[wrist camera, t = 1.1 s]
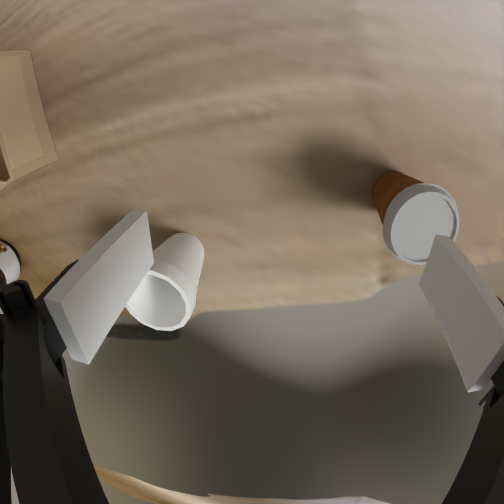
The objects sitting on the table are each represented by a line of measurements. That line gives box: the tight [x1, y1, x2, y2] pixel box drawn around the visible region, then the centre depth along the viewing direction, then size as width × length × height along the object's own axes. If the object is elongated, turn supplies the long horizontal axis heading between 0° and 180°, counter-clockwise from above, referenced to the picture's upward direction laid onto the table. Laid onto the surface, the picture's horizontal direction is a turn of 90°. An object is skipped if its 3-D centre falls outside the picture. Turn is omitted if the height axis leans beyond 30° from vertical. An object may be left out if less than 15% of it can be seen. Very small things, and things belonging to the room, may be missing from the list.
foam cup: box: [125, 233, 204, 331], centre depth 41 cm, size 10×9×13 cm
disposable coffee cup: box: [373, 172, 459, 265], centre depth 33 cm, size 10×10×12 cm
